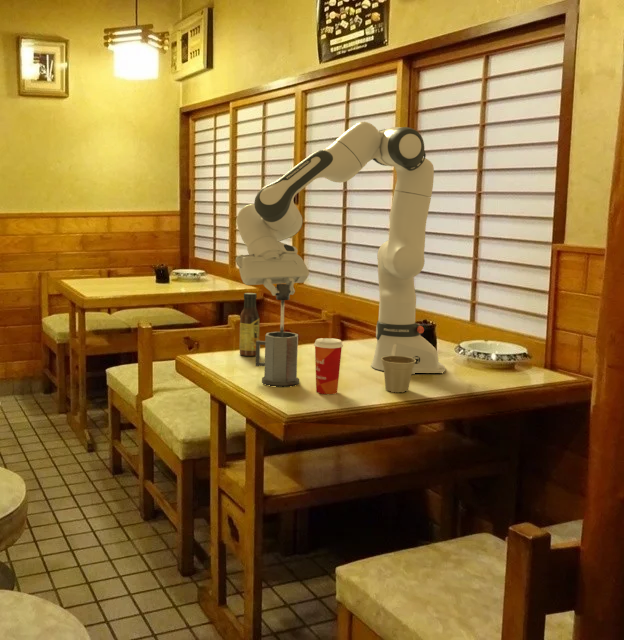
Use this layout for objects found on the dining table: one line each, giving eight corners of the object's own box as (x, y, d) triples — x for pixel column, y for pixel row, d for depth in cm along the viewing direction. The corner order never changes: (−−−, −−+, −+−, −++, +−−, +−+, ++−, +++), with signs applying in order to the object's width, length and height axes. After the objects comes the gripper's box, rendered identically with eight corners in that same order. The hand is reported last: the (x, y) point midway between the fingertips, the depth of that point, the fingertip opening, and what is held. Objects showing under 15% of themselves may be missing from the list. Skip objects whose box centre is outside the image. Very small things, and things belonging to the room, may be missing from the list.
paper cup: (310, 388, 214) (312, 337, 211) (338, 388, 214) (340, 337, 212) (314, 395, 206) (315, 343, 204) (343, 395, 207) (345, 343, 204)
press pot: (300, 378, 223) (301, 332, 221) (298, 388, 213) (299, 339, 211) (257, 377, 224) (258, 330, 222) (253, 386, 214) (254, 337, 211)
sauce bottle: (257, 357, 250) (259, 295, 247) (238, 356, 250) (239, 294, 247) (259, 353, 257) (261, 292, 253) (240, 352, 257) (241, 291, 254)
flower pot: (420, 394, 211) (421, 362, 210) (387, 395, 209) (388, 363, 207) (406, 385, 220) (407, 355, 219) (374, 386, 218) (375, 356, 216)
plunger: (293, 346, 220) (294, 283, 217) (291, 350, 214) (293, 286, 211) (271, 345, 220) (273, 282, 217) (269, 349, 214) (271, 285, 211)
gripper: (237, 247, 212) (255, 288, 206) (300, 246, 224) (319, 285, 217) (229, 262, 217) (246, 302, 210) (291, 261, 228) (309, 299, 222)
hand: (284, 293), depth 214 cm, fingers closed on plunger, 4 cm apart
